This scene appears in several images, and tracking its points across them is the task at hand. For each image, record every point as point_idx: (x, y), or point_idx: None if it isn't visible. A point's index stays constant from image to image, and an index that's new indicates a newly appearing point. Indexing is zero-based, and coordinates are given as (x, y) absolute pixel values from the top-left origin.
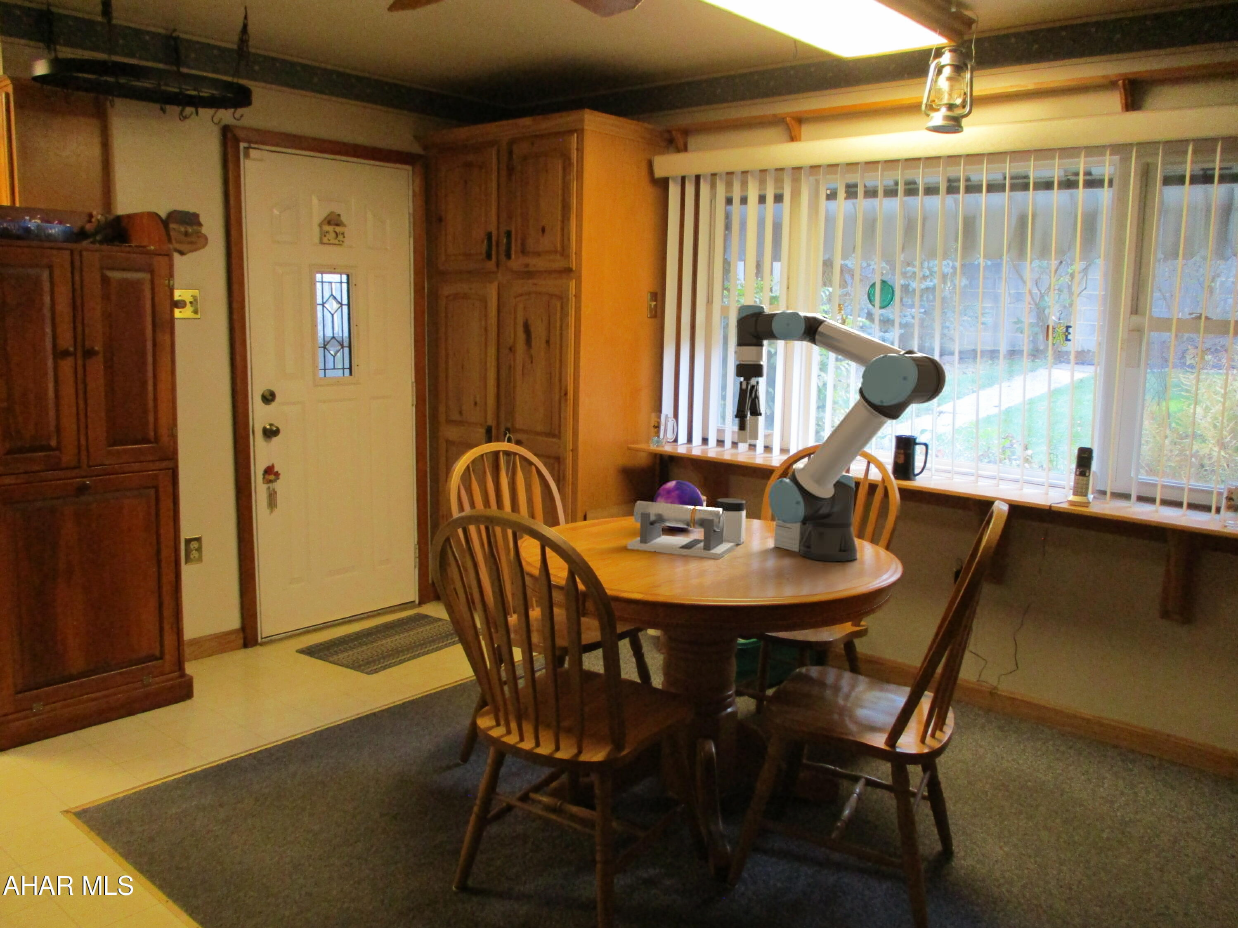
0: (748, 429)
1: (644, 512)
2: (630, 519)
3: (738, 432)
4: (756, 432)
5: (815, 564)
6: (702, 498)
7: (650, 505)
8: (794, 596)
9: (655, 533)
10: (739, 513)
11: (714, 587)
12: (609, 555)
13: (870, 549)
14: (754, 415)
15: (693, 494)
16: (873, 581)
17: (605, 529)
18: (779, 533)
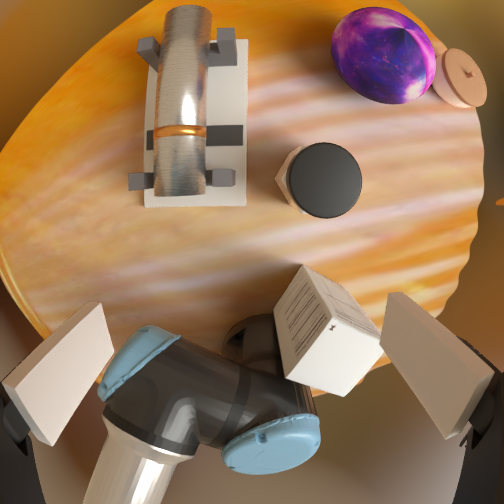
0: (421, 322)
1: (140, 44)
2: (393, 4)
3: (58, 335)
4: (399, 361)
5: (196, 343)
6: (465, 98)
7: (166, 35)
8: (49, 331)
9: None
10: (297, 207)
11: (27, 252)
12: (99, 60)
13: None
14: (479, 412)
15: (382, 75)
16: None
17: None
18: (298, 284)
